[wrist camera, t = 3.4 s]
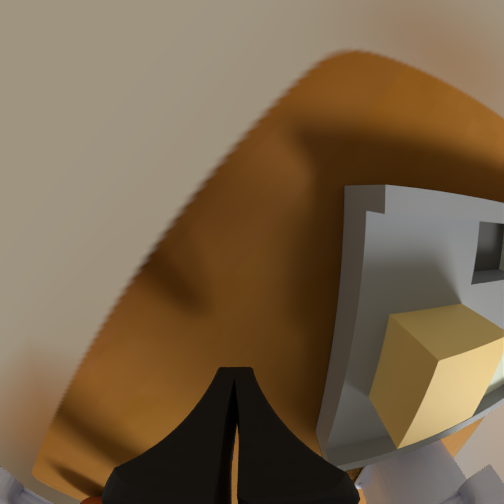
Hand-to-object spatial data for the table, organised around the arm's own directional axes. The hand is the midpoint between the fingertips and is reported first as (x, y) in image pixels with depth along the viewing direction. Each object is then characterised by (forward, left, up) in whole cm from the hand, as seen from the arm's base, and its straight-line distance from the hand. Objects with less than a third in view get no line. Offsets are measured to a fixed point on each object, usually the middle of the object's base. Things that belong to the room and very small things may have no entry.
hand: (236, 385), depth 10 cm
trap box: (0, -15, -3) cm, 15 cm away
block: (0, -9, -1) cm, 9 cm away
